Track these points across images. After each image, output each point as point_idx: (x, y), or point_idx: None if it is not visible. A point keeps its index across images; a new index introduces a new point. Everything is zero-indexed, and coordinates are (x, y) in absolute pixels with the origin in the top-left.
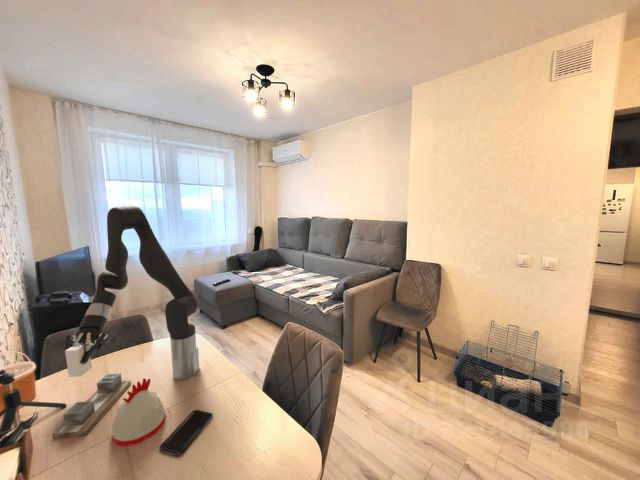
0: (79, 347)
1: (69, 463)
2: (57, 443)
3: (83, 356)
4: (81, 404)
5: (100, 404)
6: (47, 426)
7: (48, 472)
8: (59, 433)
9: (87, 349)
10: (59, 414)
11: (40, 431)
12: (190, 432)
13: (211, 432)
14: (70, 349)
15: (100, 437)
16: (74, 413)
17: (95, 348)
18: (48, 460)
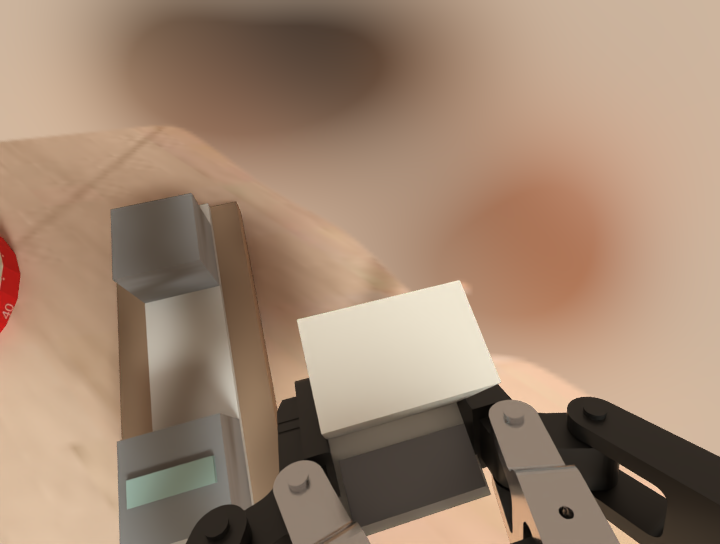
0: (342, 389)
1: (95, 156)
2: (203, 200)
3: (309, 413)
4: (159, 251)
5: (154, 348)
6: (320, 248)
7: (135, 131)
8: (210, 207)
9: (293, 474)
10: (339, 302)
11: (320, 227)
12: None
13: None
14: (424, 322)
15: (59, 239)
16: (143, 203)
17: (199, 536)
18: (172, 155)
